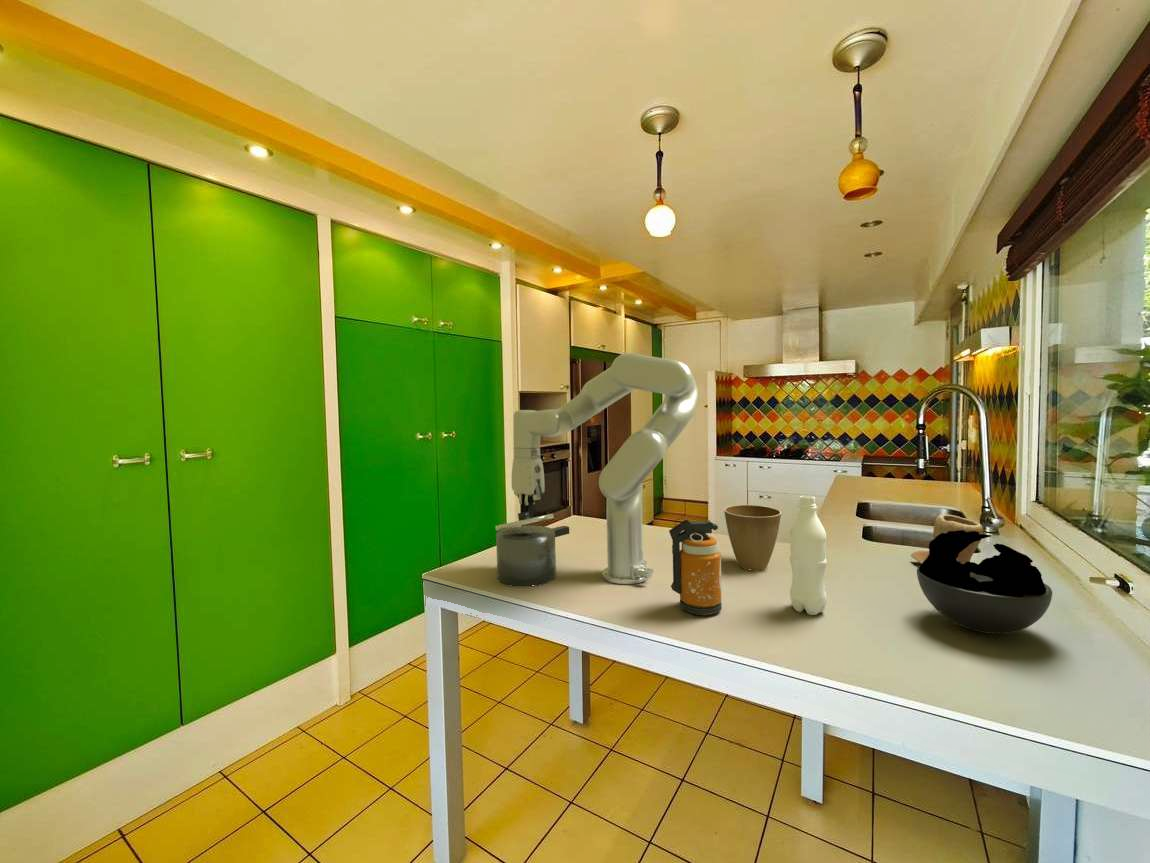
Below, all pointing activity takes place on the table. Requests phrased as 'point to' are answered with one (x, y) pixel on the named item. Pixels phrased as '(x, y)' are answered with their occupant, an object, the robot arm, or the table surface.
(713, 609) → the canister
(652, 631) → the table surface
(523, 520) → the lid
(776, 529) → the plant pot
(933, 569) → the coal bowl
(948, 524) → the stone cup
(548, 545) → the cooker pot
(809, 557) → the water bottle
